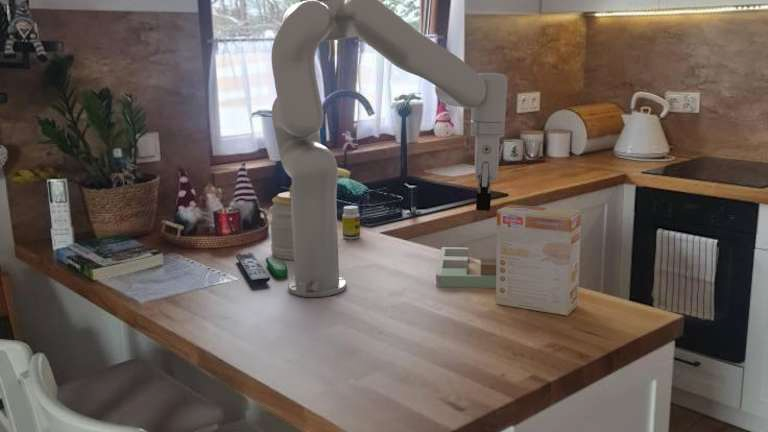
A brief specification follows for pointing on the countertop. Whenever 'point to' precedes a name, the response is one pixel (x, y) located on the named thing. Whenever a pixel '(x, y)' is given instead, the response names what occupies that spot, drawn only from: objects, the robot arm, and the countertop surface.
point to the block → (488, 266)
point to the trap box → (459, 270)
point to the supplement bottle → (351, 222)
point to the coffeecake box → (538, 258)
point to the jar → (282, 226)
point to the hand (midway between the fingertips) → (483, 209)
